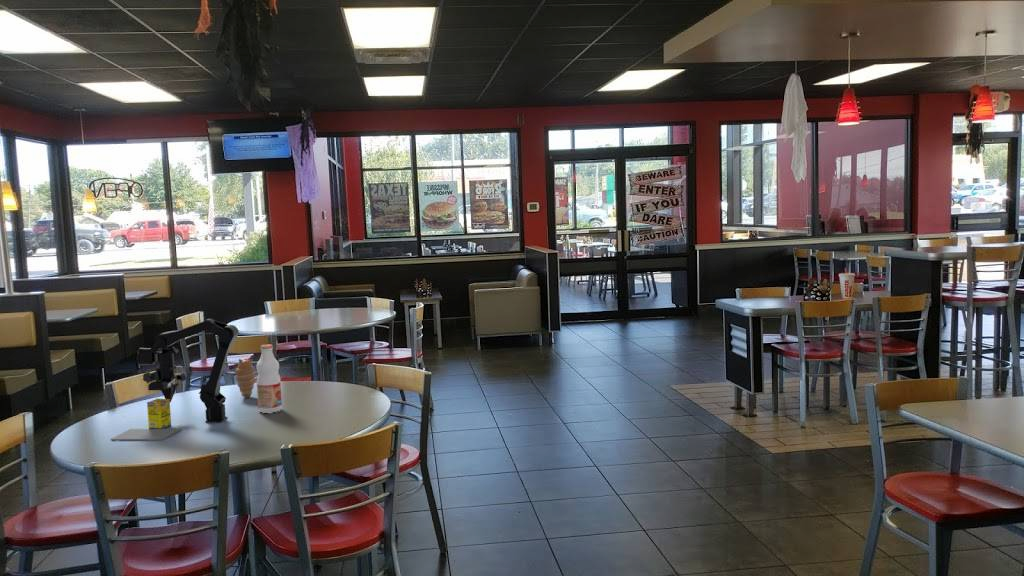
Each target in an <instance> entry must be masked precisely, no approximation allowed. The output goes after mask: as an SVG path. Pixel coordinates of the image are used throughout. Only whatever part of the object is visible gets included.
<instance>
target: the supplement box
mask: <svg viewBox="0 0 1024 576" xmlns="http://www.w3.org/2000/svg"><path fill="white" fill-rule="evenodd" d="M170 403H171V402H170V399H165V398H155V399H153V400H149V401H147V402H146V404H147V405H146V406H147V420H148V429H168V428H169V427H172V417H171V416H172V415H171V414H172V413H171V404H170Z"/></svg>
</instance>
